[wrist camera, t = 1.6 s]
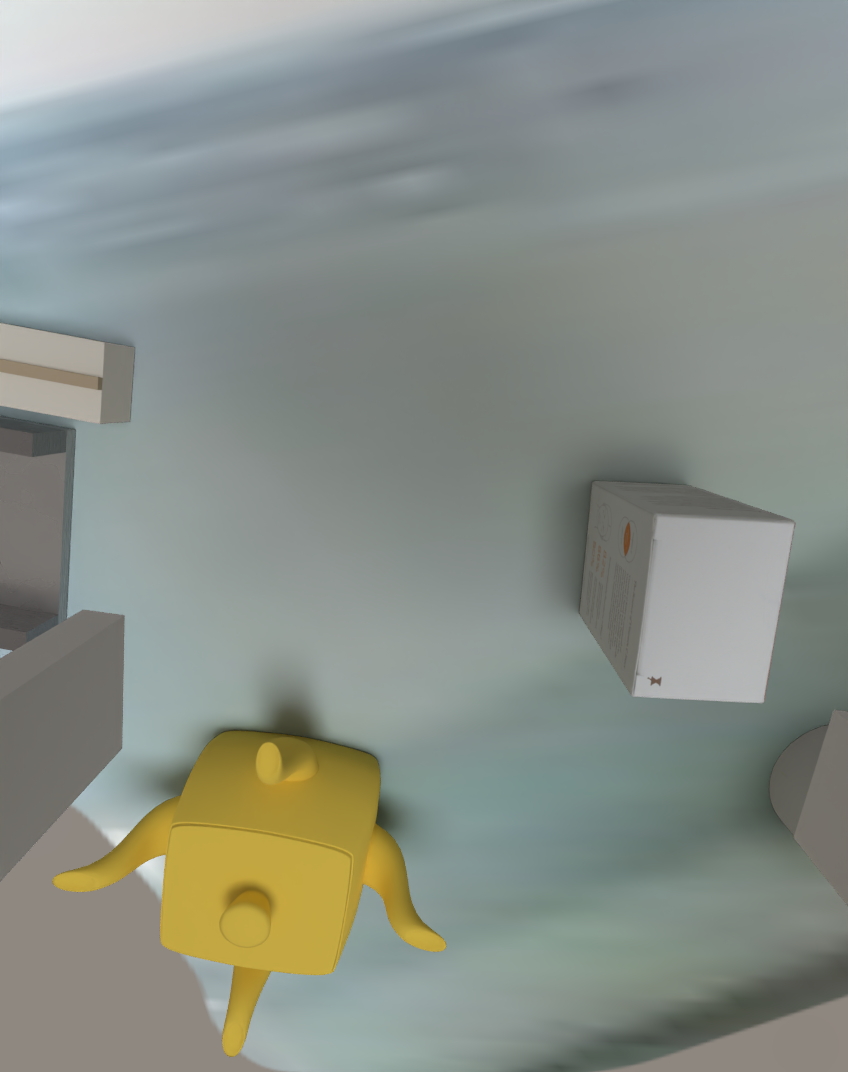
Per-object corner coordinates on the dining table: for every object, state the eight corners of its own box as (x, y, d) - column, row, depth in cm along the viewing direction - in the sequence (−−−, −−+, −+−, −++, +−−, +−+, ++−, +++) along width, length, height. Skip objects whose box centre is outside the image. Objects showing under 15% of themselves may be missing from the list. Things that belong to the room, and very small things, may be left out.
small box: (672, 619, 35) (766, 710, 25) (575, 613, 35) (630, 702, 25) (692, 482, 33) (802, 520, 23) (590, 477, 33) (655, 512, 23)
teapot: (134, 774, 39) (36, 896, 29) (305, 655, 36) (258, 745, 27) (279, 929, 41) (230, 1088, 32) (447, 826, 39) (449, 964, 29)
